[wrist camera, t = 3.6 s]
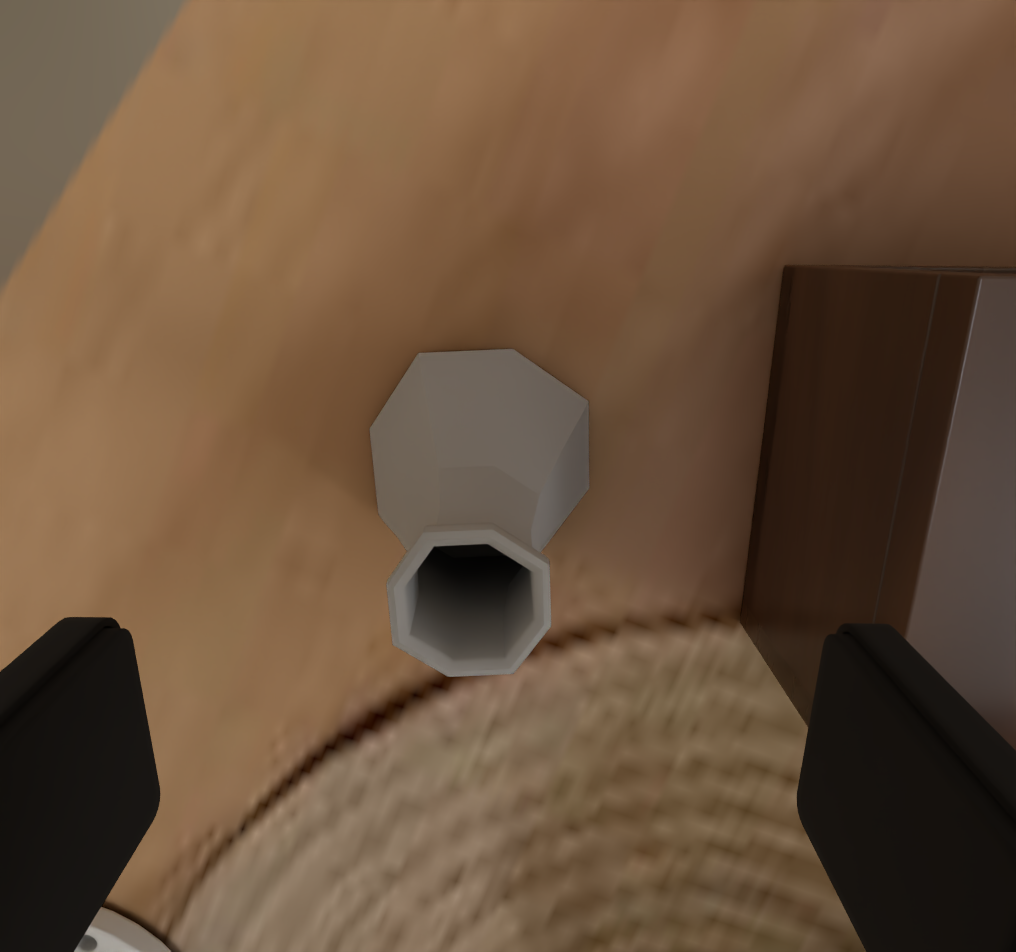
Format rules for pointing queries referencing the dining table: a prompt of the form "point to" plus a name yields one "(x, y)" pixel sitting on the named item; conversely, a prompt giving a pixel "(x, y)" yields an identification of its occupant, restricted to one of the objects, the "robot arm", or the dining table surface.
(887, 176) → the dining table surface
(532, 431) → the flask
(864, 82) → the dining table surface
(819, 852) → the robot arm
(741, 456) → the dining table surface
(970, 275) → the spice shelf
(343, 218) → the dining table surface
